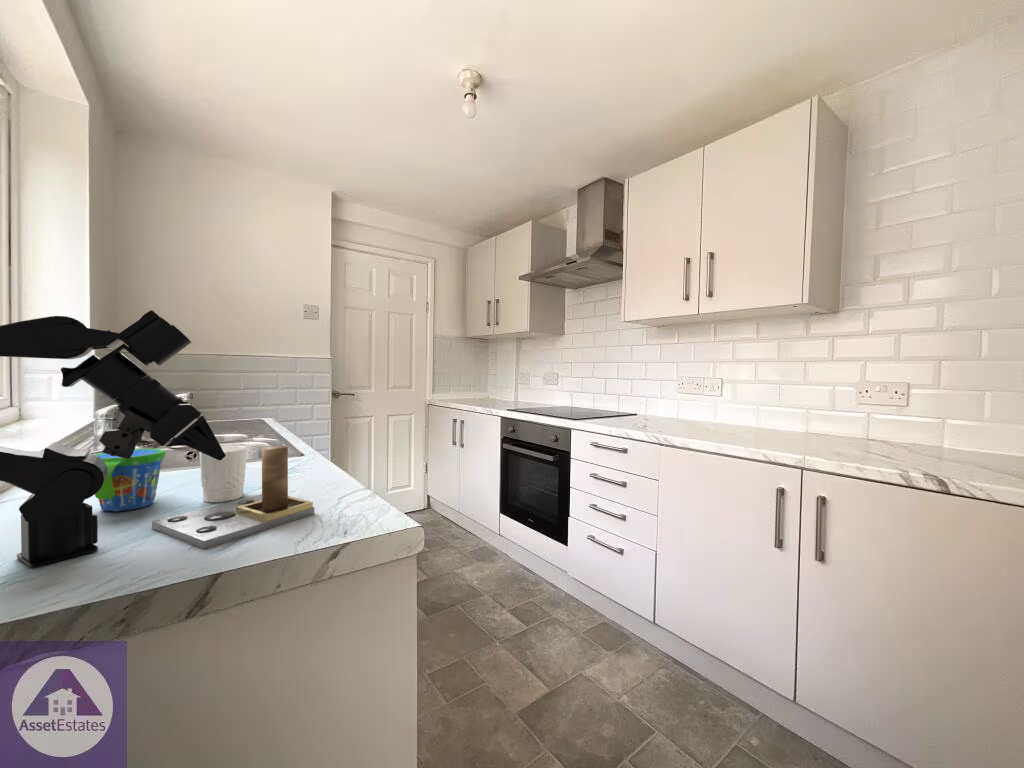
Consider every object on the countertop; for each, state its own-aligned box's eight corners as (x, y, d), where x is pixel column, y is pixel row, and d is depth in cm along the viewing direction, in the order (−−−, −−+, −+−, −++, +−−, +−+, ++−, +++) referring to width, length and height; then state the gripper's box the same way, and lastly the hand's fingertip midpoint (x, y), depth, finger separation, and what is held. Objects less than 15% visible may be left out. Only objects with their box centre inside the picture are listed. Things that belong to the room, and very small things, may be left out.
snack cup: (124, 495, 86) (124, 446, 86) (183, 493, 89) (183, 445, 88) (60, 522, 71) (59, 462, 71) (133, 519, 73) (132, 460, 73)
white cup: (255, 493, 90) (255, 446, 89) (226, 504, 82) (226, 453, 81) (220, 491, 90) (220, 445, 90) (189, 502, 83) (189, 451, 82)
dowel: (264, 515, 72) (263, 451, 72) (260, 508, 76) (260, 447, 75) (289, 510, 75) (289, 448, 75) (285, 504, 78) (285, 445, 78)
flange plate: (204, 549, 61) (204, 534, 61) (151, 528, 69) (151, 515, 69) (314, 513, 77) (314, 501, 77) (262, 500, 85) (262, 489, 85)
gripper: (85, 423, 67) (174, 483, 74) (64, 434, 52) (177, 507, 59) (151, 374, 72) (229, 435, 79) (148, 372, 57) (243, 446, 64)
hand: (220, 454), depth 70 cm, fingers open, 9 cm apart
